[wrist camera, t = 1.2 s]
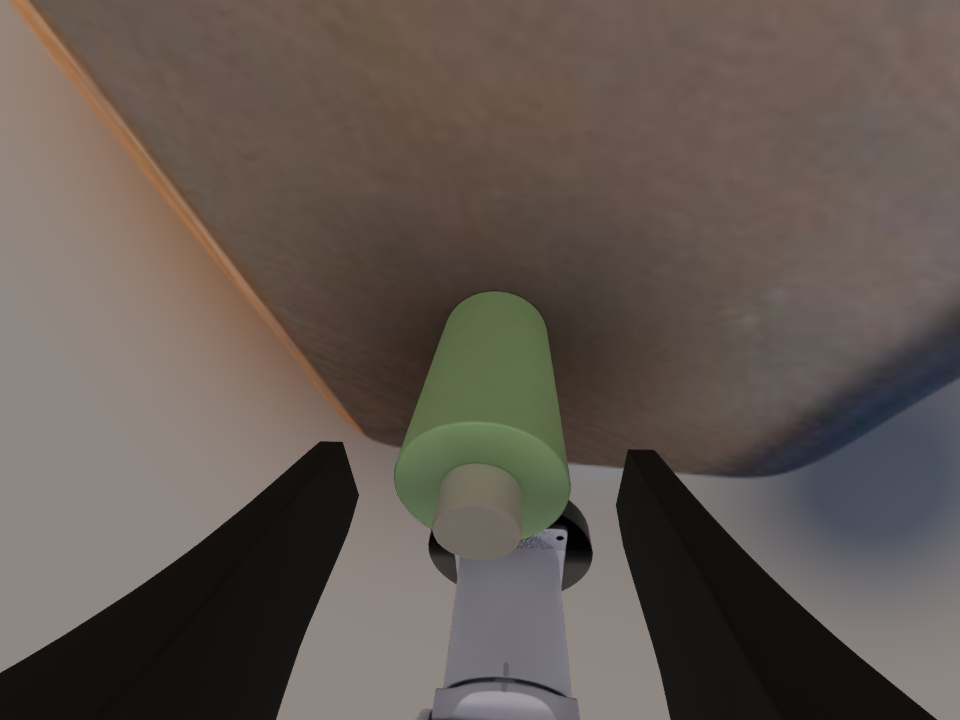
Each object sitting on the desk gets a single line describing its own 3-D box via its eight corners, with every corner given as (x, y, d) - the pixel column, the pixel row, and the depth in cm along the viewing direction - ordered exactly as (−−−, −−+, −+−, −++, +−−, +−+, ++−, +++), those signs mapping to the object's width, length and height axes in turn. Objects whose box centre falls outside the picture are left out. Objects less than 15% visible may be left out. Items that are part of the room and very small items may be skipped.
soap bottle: (545, 382, 17) (569, 594, 9) (448, 381, 18) (394, 584, 10) (550, 289, 15) (588, 467, 7) (439, 290, 15) (360, 459, 8)
